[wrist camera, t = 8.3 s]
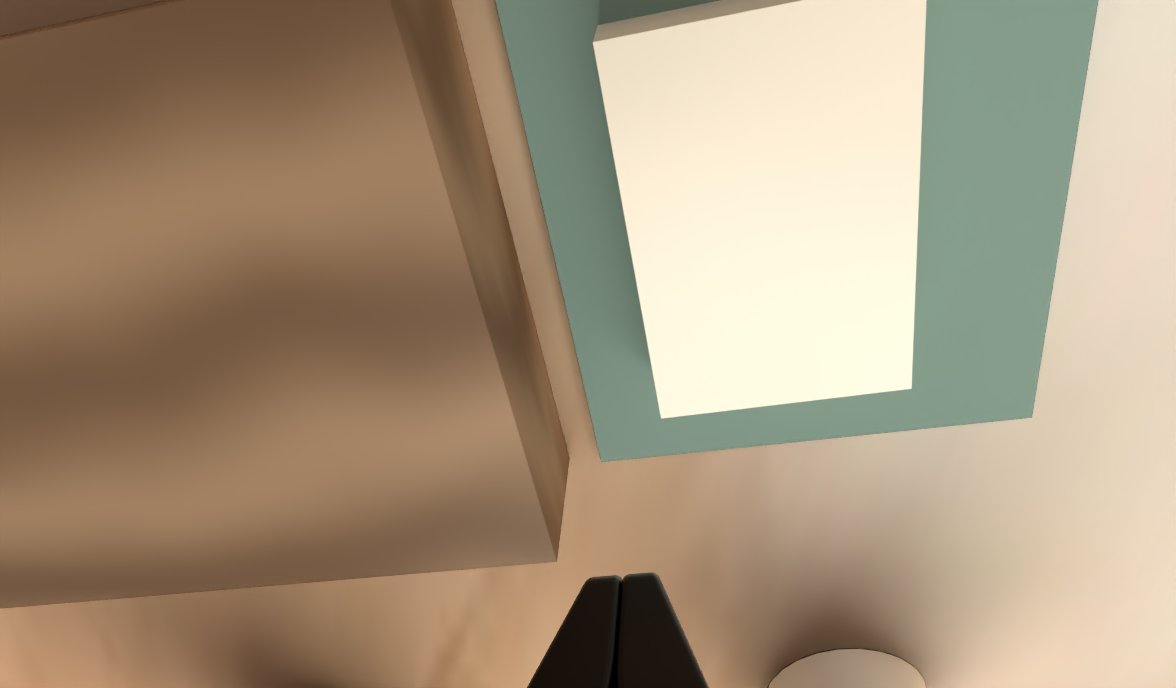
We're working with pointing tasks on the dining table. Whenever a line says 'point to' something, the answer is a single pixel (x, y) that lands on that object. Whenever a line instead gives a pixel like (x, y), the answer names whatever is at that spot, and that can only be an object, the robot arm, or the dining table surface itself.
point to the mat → (944, 241)
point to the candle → (849, 671)
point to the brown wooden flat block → (260, 307)
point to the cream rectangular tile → (770, 194)
